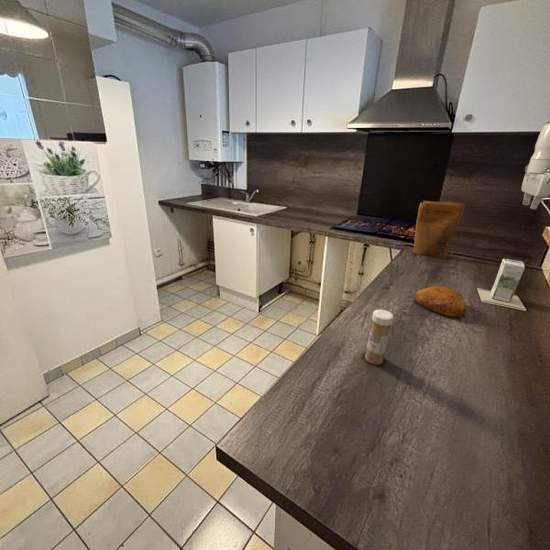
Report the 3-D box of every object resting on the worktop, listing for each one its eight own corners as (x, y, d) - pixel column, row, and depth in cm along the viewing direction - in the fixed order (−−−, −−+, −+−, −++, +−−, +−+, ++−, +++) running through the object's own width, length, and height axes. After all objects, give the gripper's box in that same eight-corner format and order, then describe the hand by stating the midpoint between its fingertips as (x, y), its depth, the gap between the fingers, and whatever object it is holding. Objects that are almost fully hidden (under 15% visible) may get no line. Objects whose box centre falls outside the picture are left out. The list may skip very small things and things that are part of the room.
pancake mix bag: (449, 261, 144) (465, 204, 133) (408, 254, 153) (420, 199, 141) (449, 257, 149) (465, 202, 138) (410, 250, 158) (422, 198, 147)
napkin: (516, 296, 110) (517, 295, 110) (526, 311, 99) (526, 310, 99) (476, 288, 115) (477, 287, 115) (481, 302, 105) (481, 301, 104)
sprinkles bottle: (360, 356, 75) (369, 310, 69) (374, 352, 76) (384, 307, 71) (373, 367, 71) (382, 320, 65) (387, 363, 73) (398, 316, 67)
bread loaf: (448, 328, 92) (459, 308, 88) (406, 301, 103) (414, 282, 99) (471, 315, 99) (482, 296, 95) (430, 291, 110) (437, 273, 106)
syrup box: (508, 297, 108) (522, 260, 102) (510, 303, 103) (525, 265, 98) (489, 293, 111) (503, 257, 105) (491, 299, 106) (505, 262, 100)
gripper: (565, 169, 95) (549, 212, 101) (544, 167, 112) (531, 203, 118) (541, 168, 98) (526, 210, 103) (524, 166, 115) (512, 202, 120)
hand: (528, 206), depth 111 cm, fingers open, 8 cm apart
